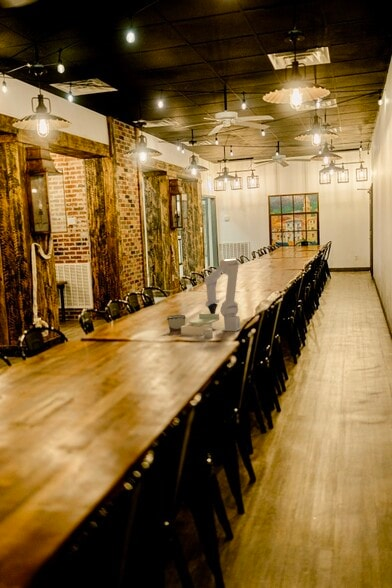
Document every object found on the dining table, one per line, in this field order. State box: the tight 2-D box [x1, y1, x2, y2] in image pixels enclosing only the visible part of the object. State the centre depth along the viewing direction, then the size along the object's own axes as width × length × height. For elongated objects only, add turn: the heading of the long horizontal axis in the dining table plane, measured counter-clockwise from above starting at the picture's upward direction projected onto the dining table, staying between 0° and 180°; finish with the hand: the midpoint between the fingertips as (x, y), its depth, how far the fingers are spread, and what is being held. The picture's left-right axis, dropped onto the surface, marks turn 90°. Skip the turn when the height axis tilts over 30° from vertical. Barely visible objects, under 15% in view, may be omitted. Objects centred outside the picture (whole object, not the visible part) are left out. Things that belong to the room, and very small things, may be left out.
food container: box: [166, 314, 187, 333], centre depth 349 cm, size 12×6×10 cm, turn 84°
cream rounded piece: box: [203, 328, 214, 340], centre depth 324 cm, size 5×5×5 cm
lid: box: [188, 312, 220, 324], centre depth 348 cm, size 14×14×4 cm
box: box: [180, 322, 213, 336], centre depth 341 cm, size 14×14×5 cm
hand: (212, 315), depth 358 cm, fingers closed
